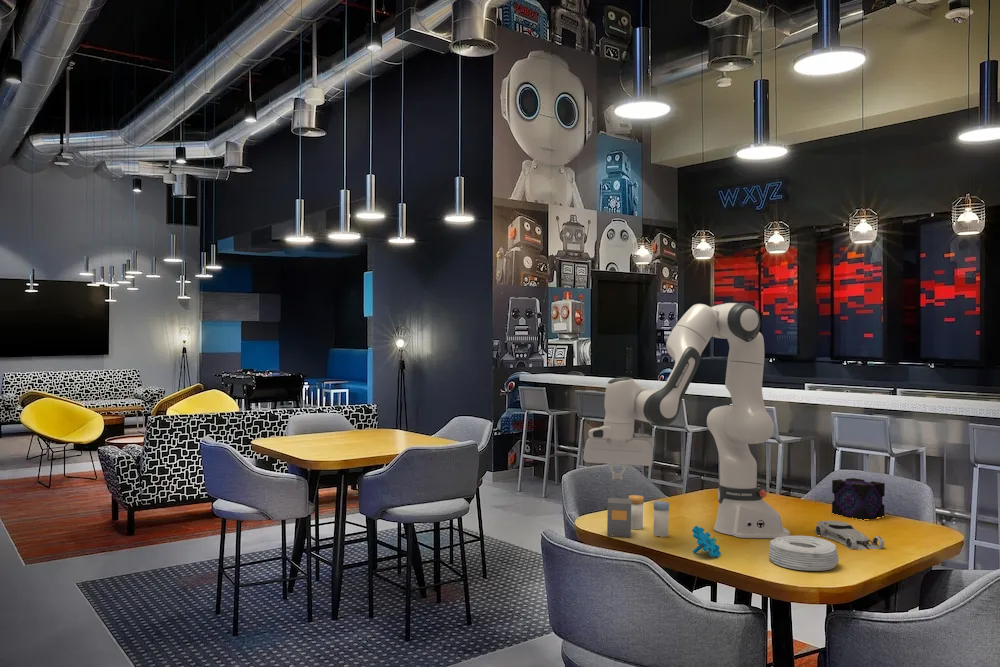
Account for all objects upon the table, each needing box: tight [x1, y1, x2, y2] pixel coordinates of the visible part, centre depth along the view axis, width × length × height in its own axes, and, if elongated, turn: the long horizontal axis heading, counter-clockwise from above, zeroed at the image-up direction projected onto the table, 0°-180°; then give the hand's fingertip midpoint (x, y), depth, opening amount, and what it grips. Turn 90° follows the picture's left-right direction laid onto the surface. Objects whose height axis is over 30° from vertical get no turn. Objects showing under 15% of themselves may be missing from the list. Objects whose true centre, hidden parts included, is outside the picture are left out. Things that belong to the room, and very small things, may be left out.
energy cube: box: [831, 477, 886, 520], centre depth 271 cm, size 12×12×12 cm
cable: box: [768, 535, 840, 572], centre depth 207 cm, size 18×18×6 cm
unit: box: [606, 497, 632, 538], centre depth 237 cm, size 7×9×10 cm
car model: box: [813, 520, 885, 551], centre depth 235 cm, size 11×24×5 cm, turn 9°
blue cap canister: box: [652, 500, 670, 538], centre depth 236 cm, size 5×5×10 cm
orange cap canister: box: [628, 494, 645, 530], centre depth 245 cm, size 5×5×10 cm
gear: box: [691, 525, 722, 558], centre depth 215 cm, size 11×6×10 cm
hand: (617, 479), depth 228 cm, fingers closed
